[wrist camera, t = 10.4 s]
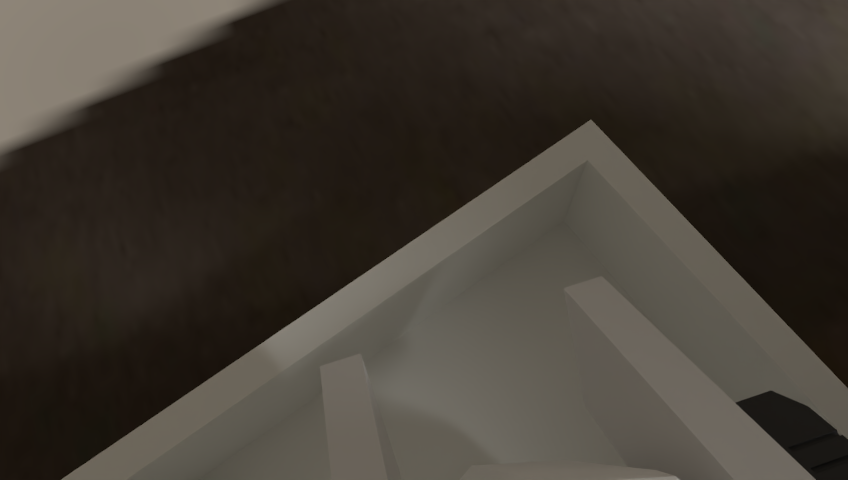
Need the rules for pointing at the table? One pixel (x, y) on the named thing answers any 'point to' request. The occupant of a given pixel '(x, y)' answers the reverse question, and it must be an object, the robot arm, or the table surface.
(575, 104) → the table surface
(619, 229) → the box
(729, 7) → the table surface
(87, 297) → the table surface
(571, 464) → the pepper shaker
